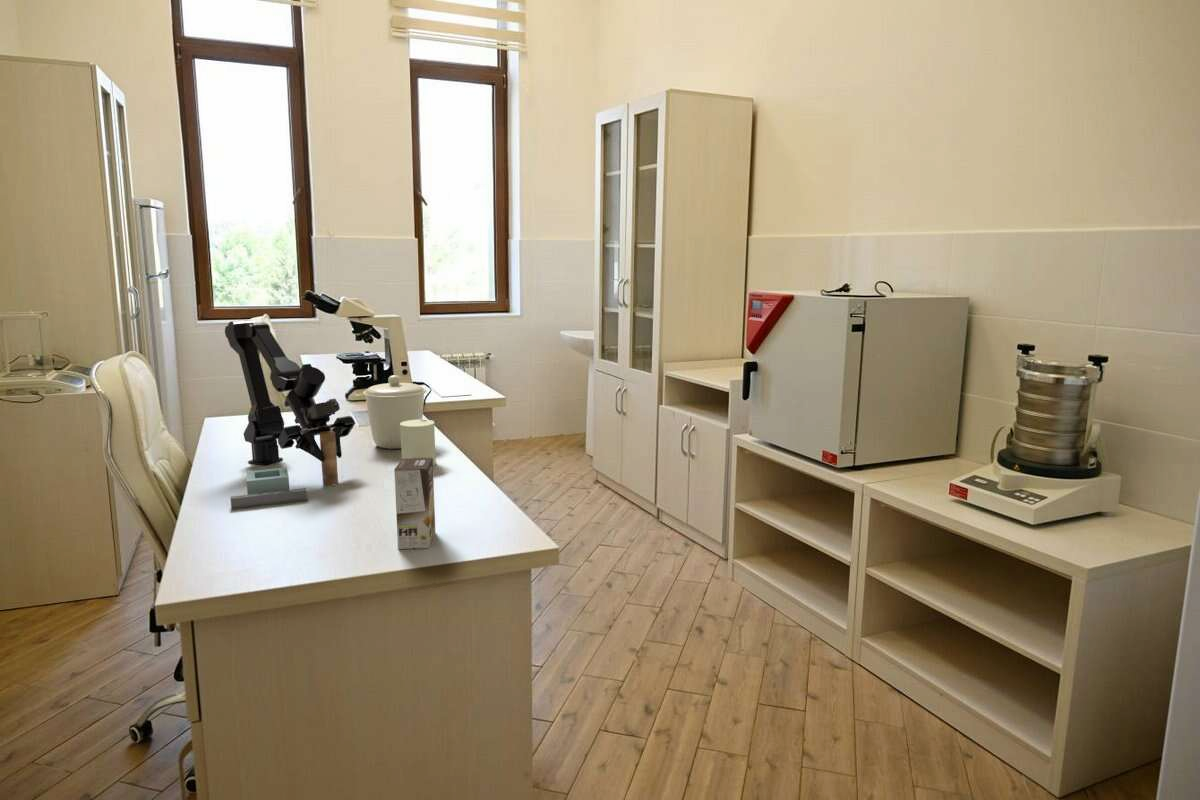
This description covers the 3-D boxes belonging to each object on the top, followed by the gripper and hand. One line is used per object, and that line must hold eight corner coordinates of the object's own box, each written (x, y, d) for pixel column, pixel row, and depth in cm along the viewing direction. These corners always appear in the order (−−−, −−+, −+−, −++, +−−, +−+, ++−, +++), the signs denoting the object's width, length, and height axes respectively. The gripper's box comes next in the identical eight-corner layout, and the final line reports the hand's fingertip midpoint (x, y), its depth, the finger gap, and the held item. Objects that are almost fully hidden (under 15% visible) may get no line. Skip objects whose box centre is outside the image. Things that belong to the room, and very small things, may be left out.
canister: (433, 449, 233) (430, 378, 229) (369, 455, 226) (365, 381, 222) (423, 436, 249) (420, 369, 245) (363, 441, 243) (359, 372, 239)
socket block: (248, 491, 192) (246, 471, 191) (288, 487, 196) (286, 467, 195) (248, 502, 184) (246, 481, 183) (290, 497, 187) (288, 476, 186)
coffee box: (430, 548, 155) (427, 469, 152) (397, 549, 155) (393, 469, 152) (436, 532, 164) (433, 456, 161) (404, 533, 164) (401, 457, 161)
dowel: (319, 484, 198) (316, 433, 195) (330, 480, 201) (326, 430, 199) (331, 486, 196) (327, 434, 194) (341, 482, 199) (338, 431, 197)
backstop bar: (231, 507, 180) (230, 496, 180) (306, 498, 187) (305, 488, 186) (231, 509, 179) (230, 498, 178) (307, 500, 185) (306, 490, 184)
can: (442, 461, 219) (441, 418, 217) (424, 470, 211) (423, 425, 209) (413, 458, 222) (411, 416, 220) (394, 467, 214) (392, 423, 212)
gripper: (280, 394, 190) (308, 447, 185) (349, 384, 204) (376, 433, 199) (266, 422, 196) (292, 473, 191) (333, 410, 210) (360, 458, 205)
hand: (332, 458), depth 196 cm, fingers open, 4 cm apart
